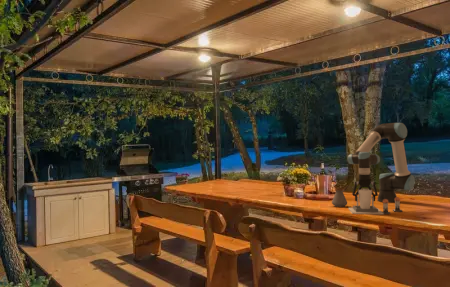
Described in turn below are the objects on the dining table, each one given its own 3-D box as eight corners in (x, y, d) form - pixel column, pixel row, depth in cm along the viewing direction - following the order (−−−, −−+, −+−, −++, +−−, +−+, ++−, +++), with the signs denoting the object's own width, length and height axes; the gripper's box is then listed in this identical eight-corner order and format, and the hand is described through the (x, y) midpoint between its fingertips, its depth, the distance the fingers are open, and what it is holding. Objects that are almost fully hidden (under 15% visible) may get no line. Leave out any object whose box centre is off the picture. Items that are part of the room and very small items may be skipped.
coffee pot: (342, 208, 279) (342, 187, 279) (328, 206, 287) (328, 186, 287) (356, 204, 294) (356, 185, 294) (342, 203, 302) (342, 184, 302)
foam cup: (356, 208, 262) (356, 190, 262) (359, 206, 269) (359, 188, 269) (370, 209, 256) (370, 190, 256) (373, 207, 264) (373, 189, 264)
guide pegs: (379, 213, 255) (378, 198, 255) (395, 210, 266) (395, 196, 266) (387, 214, 250) (386, 199, 250) (404, 211, 261) (403, 197, 261)
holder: (348, 208, 275) (348, 204, 275) (377, 209, 271) (377, 205, 271) (352, 214, 255) (352, 209, 255) (383, 214, 251) (383, 210, 251)
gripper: (348, 174, 261) (349, 206, 261) (382, 174, 257) (383, 207, 257) (347, 173, 269) (348, 204, 269) (380, 173, 265) (380, 205, 265)
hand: (365, 205), depth 263 cm, fingers closed on foam cup, 9 cm apart
